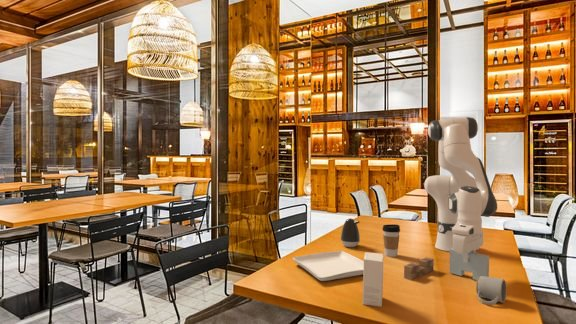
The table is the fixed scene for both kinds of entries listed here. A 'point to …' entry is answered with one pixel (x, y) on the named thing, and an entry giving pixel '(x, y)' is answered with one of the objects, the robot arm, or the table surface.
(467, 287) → the table surface
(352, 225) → the pump dispenser
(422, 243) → the table surface
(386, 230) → the coffee cup
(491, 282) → the ceramic mug
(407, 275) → the walnut rail
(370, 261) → the skincare box
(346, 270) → the square plate
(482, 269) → the grey flat block
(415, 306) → the table surface
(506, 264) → the table surface
